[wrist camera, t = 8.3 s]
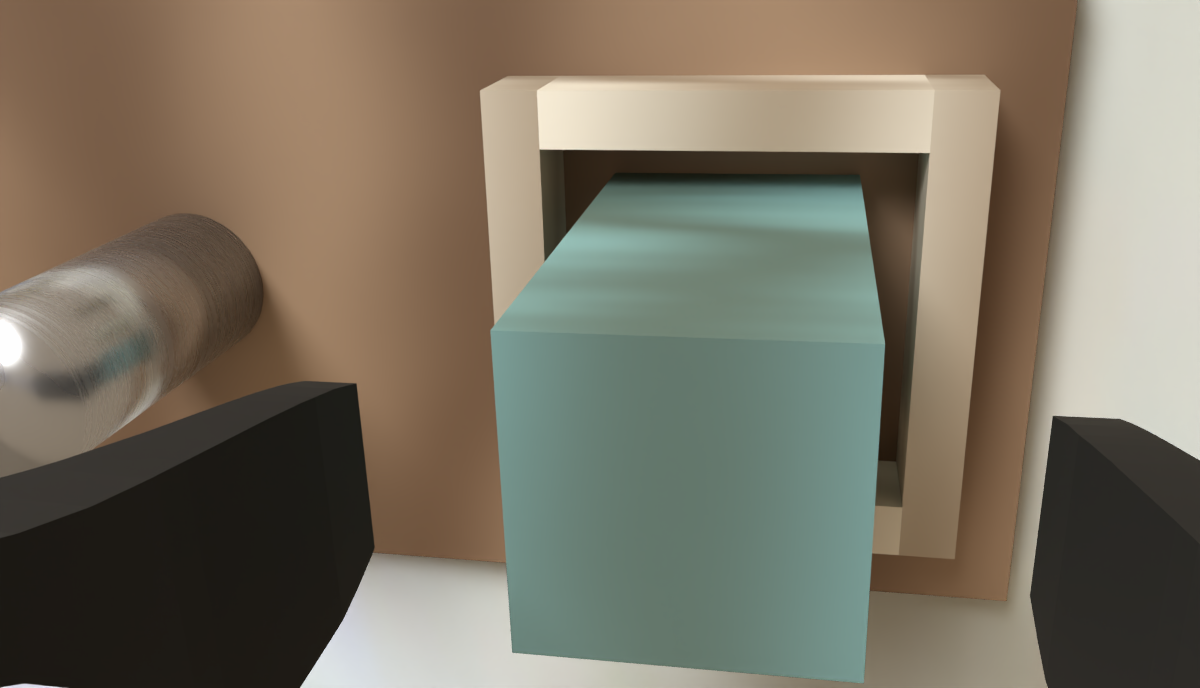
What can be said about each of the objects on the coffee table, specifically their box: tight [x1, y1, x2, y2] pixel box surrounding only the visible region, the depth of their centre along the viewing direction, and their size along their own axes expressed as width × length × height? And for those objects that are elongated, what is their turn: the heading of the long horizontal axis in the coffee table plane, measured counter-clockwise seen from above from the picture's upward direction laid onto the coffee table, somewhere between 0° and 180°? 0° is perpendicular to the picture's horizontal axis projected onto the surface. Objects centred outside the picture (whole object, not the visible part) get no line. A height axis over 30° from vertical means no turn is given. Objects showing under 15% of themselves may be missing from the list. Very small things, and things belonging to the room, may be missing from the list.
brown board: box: [0, 0, 1078, 601], centre depth 18 cm, size 18×10×2 cm, turn 92°
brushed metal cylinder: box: [0, 213, 264, 478], centre depth 17 cm, size 2×2×5 cm
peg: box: [490, 173, 885, 683], centre depth 14 cm, size 4×4×7 cm
